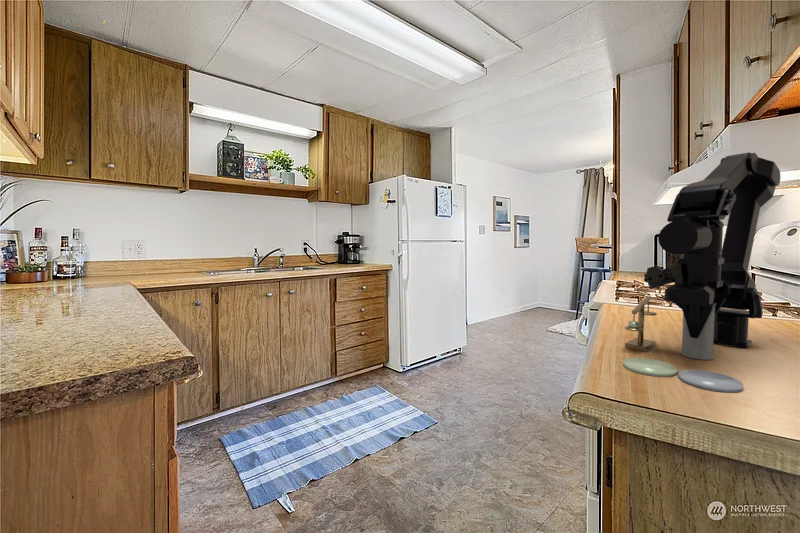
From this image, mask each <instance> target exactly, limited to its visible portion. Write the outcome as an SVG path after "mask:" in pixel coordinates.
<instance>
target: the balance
mask: <svg viewBox="0 0 800 533" xmlns="http://www.w3.org/2000/svg"><path fill="white" fill-rule="evenodd" d="M651 297H652V296H649V295H647V296H646V297H644V298H643V299H642V300H641V301H640V302H639V303H638V304H637V305H636V306H635V308H633V309H632V310H631V314H633V316H632V320H629V321H627V322H628V325H625V326H624V330H626V331H630V332H637V337H635V338H633V339H630V340H629V341H626V342H624V349H628V348H629V350H633V351H638V352H639V351H640V352H643V353H645V352H648V351H649V350H651V349H653V348H654V347H656V341H655V340H652V339H651V340H649V339H646V338H645V339H644V333H645V332H644V331H645V328H644V327H645V316H657V315H658V313H657V312H654V311H650V301H651V300H652V299H651ZM646 305H647V310H646V311H645V306H646ZM636 315H638V317H637V321H635V320H636Z"/></svg>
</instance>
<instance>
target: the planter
mask: <svg viewBox="0 0 800 533" xmlns="http://www.w3.org/2000/svg"><path fill="white" fill-rule="evenodd" d="M714 317H715V307H714V309H713V311H712V313H711V315H710V317H709V319H708V321H707V322H706V324H705V326H704V328H703V330H702V332H701V334H700V336H699V337H698V338H692V337H690V334H689V331H688V327H687V324H686V320H685V317H684V314H683V313H682V329H681V330H682V332H681V333H682V334H681V355H682V356H684V357H687V358H689V359H693V360H694V359H695V360H699V361H701V360H702V361H710V360H713V356H714V343H713V339H714Z"/></svg>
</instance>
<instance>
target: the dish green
mask: <svg viewBox="0 0 800 533" xmlns="http://www.w3.org/2000/svg"><path fill="white" fill-rule="evenodd" d="M623 367H624V368H626V370H629V371H631V372H634V373H636V374H641V375H645V376H651V377H658V378H660V377H662V378H668V377H675V376H676V375H677V374H678V368H677V367H676V366H675V365H673V364H670V363H668V362H664V361H661V360H657V359H650V358H643V357H631V358H626V359H624V360H623Z"/></svg>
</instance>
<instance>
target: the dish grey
mask: <svg viewBox="0 0 800 533" xmlns="http://www.w3.org/2000/svg"><path fill="white" fill-rule="evenodd" d="M677 377H678V379H679V380H680V381H682V382H683V383H685V384H687V385H688V386H689V385H690V386H692V387H696V388H699V389H703V390H706V391H712V392H718V393H726V394H727V393H730V394H731V393H740V392H742V391H744V383H743V382H742V381H740V380H738V378H737V379H736V378H734V377H731V376H728V375H725V374H723V373H717V372H714V371H709V370H708V371H707V370H700V369H684V370H683V369H682V370H680V371H679V372H678V376H677Z"/></svg>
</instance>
